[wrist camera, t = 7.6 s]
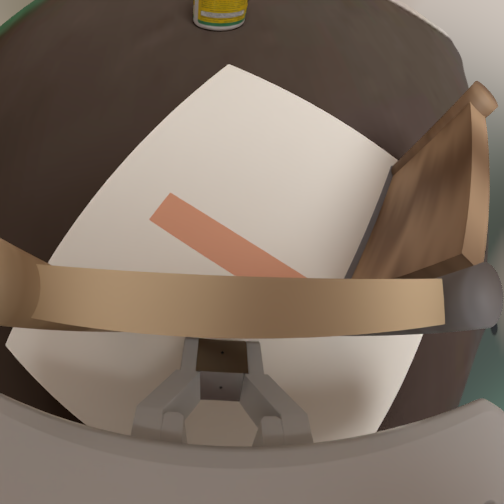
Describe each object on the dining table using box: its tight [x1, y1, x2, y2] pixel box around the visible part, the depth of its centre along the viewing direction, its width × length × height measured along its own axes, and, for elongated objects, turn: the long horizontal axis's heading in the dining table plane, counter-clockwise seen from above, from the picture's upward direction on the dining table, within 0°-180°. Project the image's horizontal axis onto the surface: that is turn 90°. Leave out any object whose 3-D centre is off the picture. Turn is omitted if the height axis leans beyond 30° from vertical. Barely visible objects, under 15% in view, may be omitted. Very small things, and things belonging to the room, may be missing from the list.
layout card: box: [5, 64, 423, 446], centre depth 15 cm, size 26×22×1 cm
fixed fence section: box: [346, 81, 503, 336], centre depth 12 cm, size 14×2×10 cm, turn 149°
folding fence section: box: [0, 238, 445, 339], centre depth 9 cm, size 11×2×10 cm, turn 89°
